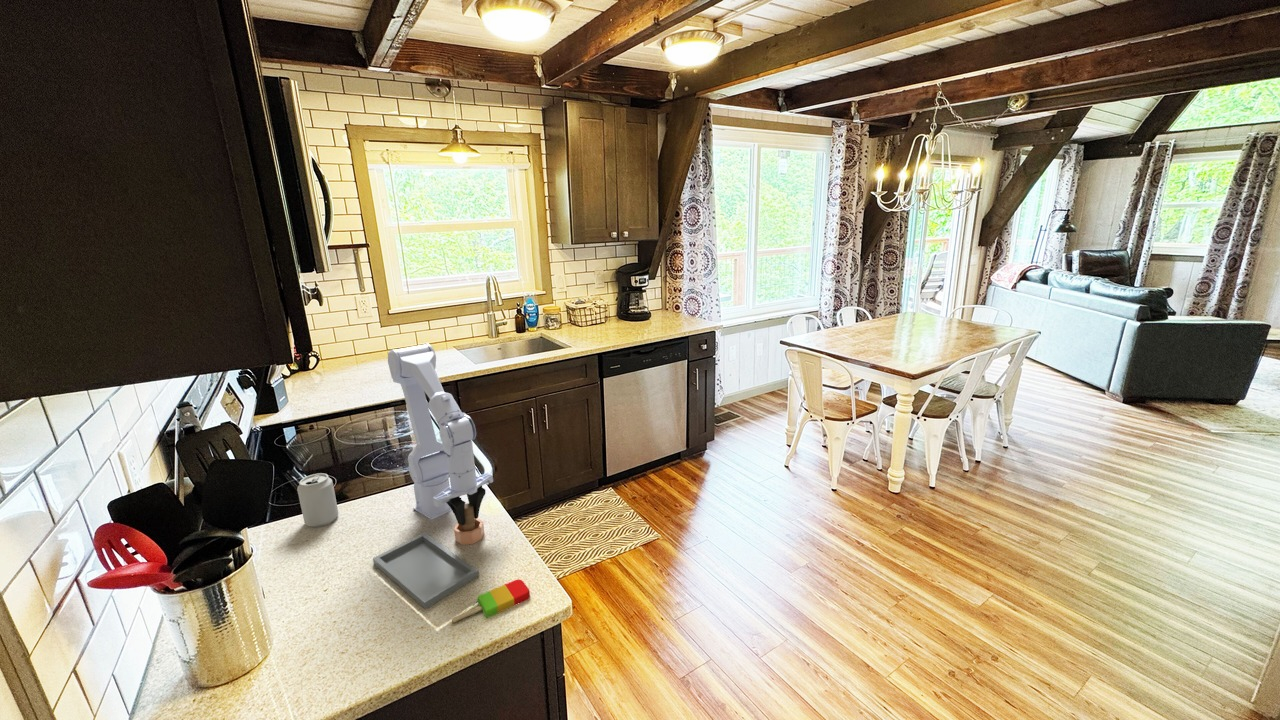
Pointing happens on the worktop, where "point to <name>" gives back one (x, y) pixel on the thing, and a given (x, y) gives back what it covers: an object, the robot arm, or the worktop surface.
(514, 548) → the worktop surface
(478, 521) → the cup
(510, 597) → the popsicle
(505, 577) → the worktop surface
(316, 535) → the worktop surface
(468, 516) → the pin
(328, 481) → the can
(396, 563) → the tray
